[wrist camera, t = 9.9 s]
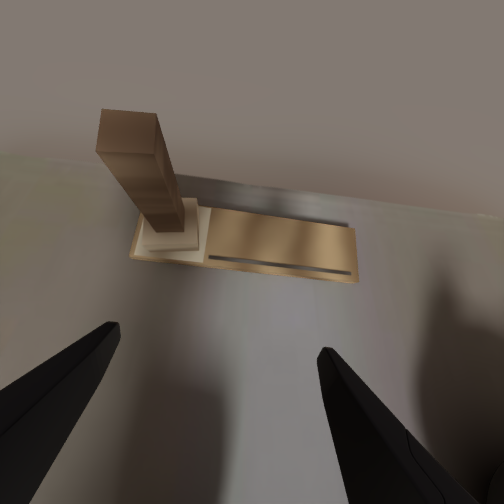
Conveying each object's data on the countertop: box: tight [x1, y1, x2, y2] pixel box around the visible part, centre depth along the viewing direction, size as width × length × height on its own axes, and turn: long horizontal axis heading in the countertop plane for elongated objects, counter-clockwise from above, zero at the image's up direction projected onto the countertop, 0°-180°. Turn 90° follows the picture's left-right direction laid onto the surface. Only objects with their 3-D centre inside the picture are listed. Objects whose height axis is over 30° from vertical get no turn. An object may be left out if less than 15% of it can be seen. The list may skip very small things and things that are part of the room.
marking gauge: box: [96, 109, 199, 252], centre depth 17 cm, size 6×5×13 cm
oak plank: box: [129, 205, 359, 283], centre depth 24 cm, size 26×7×1 cm, turn 85°
